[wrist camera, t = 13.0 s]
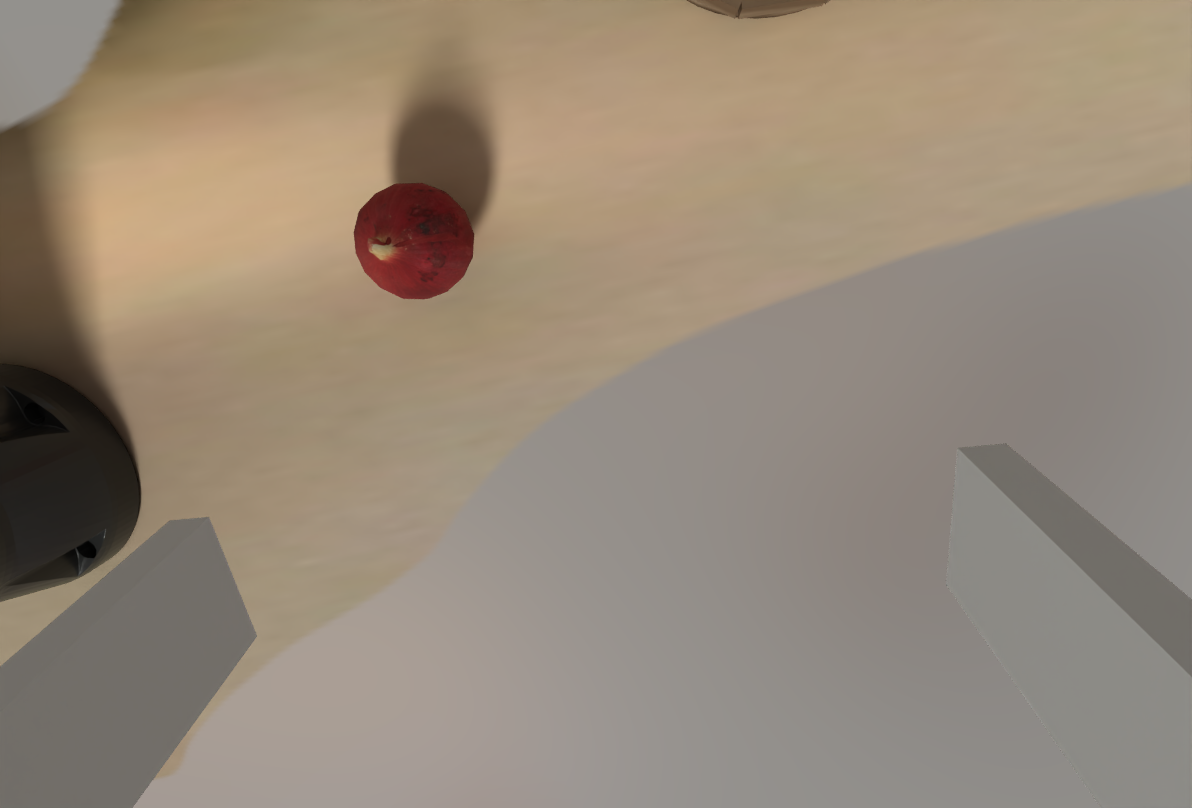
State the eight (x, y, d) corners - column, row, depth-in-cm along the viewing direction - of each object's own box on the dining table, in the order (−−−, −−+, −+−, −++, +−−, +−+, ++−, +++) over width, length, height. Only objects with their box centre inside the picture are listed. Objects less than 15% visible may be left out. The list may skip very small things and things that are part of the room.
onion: (463, 166, 36) (410, 160, 29) (505, 267, 38) (464, 286, 30) (372, 207, 38) (297, 210, 30) (415, 302, 39) (354, 329, 32)
